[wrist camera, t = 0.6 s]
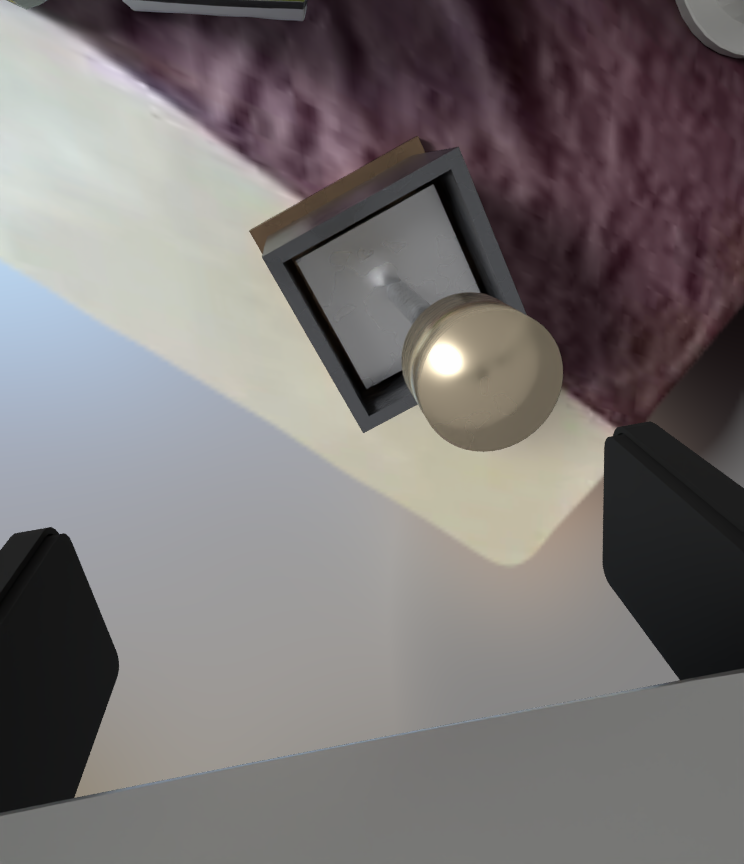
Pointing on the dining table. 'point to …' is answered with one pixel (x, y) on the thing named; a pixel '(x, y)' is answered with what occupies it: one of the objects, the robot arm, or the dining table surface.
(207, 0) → the tea box
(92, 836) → the robot arm
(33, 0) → the air freshener
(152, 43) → the dining table surface
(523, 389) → the plunger
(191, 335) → the dining table surface
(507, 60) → the dining table surface
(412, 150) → the press housing
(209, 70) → the dining table surface
